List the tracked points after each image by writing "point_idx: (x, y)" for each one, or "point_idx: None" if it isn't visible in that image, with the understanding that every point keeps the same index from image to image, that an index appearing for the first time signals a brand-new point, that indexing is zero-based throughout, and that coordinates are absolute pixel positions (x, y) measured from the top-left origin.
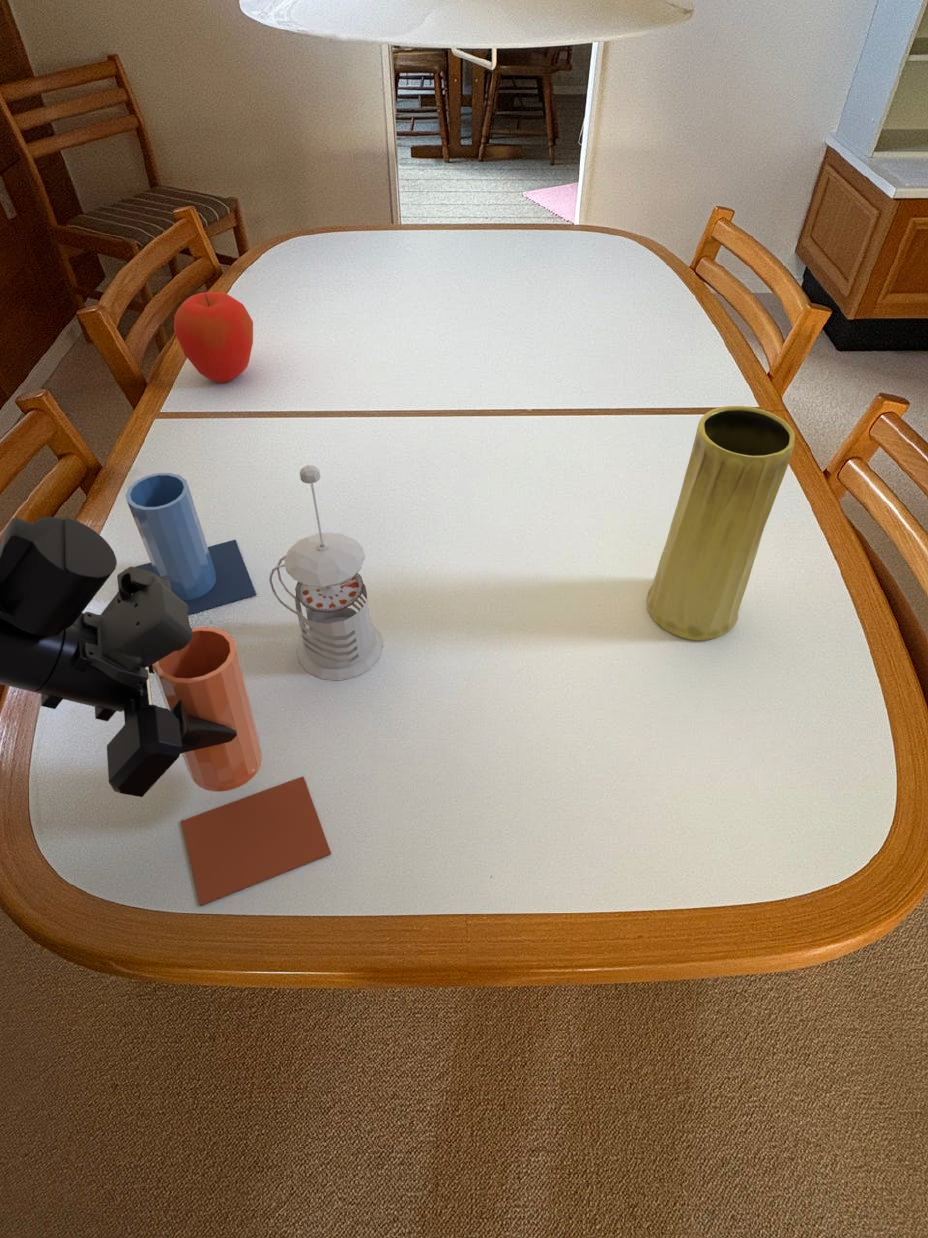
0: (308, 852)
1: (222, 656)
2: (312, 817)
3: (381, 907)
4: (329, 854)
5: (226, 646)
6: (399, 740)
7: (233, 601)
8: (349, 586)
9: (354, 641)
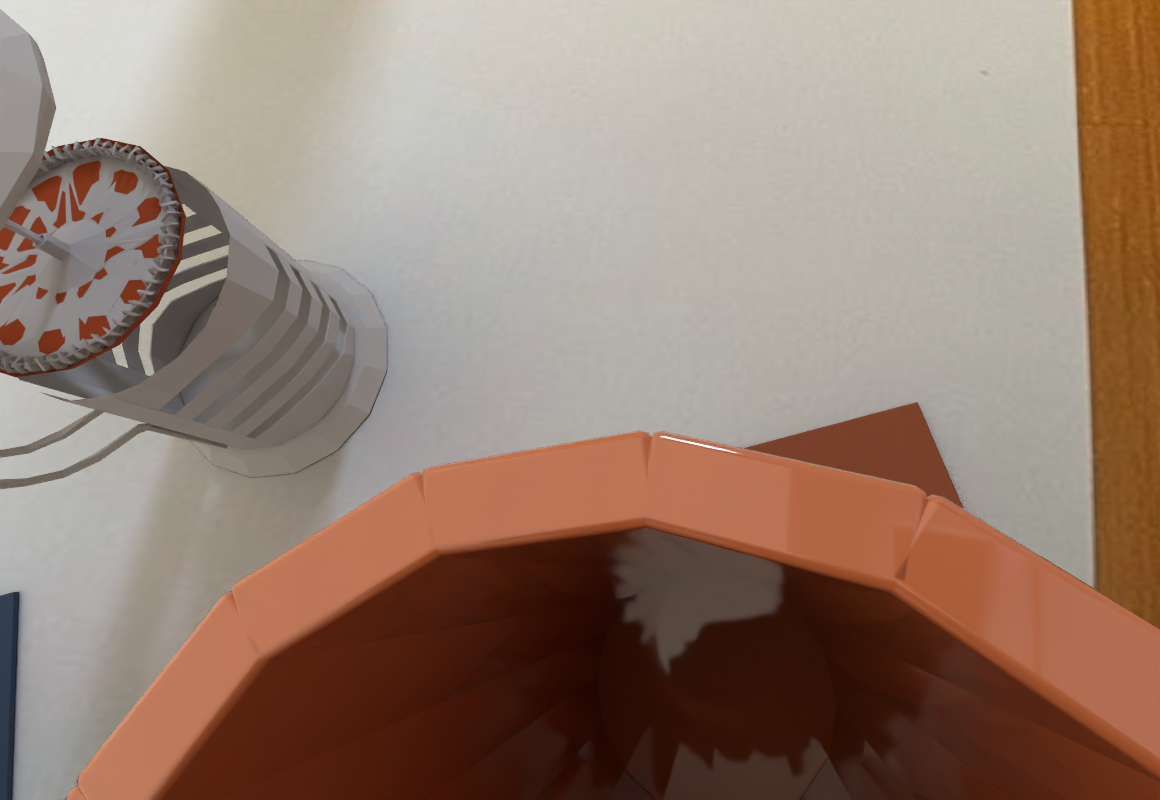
0: (913, 458)
1: (426, 684)
2: (806, 445)
3: (1064, 293)
4: (918, 406)
5: (401, 624)
6: (600, 235)
7: (14, 664)
8: (86, 190)
9: (278, 315)
